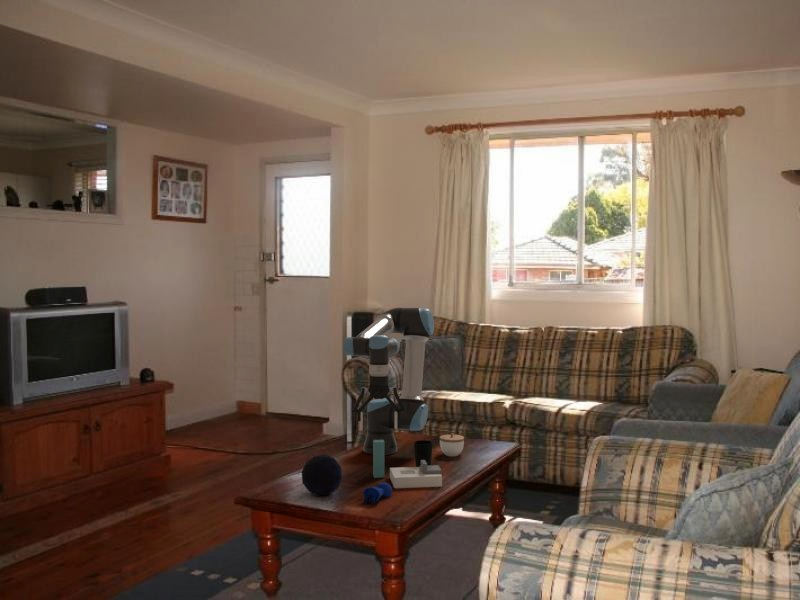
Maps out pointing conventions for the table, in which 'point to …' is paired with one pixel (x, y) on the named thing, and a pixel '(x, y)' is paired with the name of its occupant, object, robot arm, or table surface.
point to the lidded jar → (451, 444)
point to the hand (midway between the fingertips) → (378, 429)
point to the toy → (377, 493)
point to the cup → (423, 452)
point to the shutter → (429, 468)
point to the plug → (378, 458)
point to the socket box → (413, 478)
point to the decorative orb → (321, 475)
